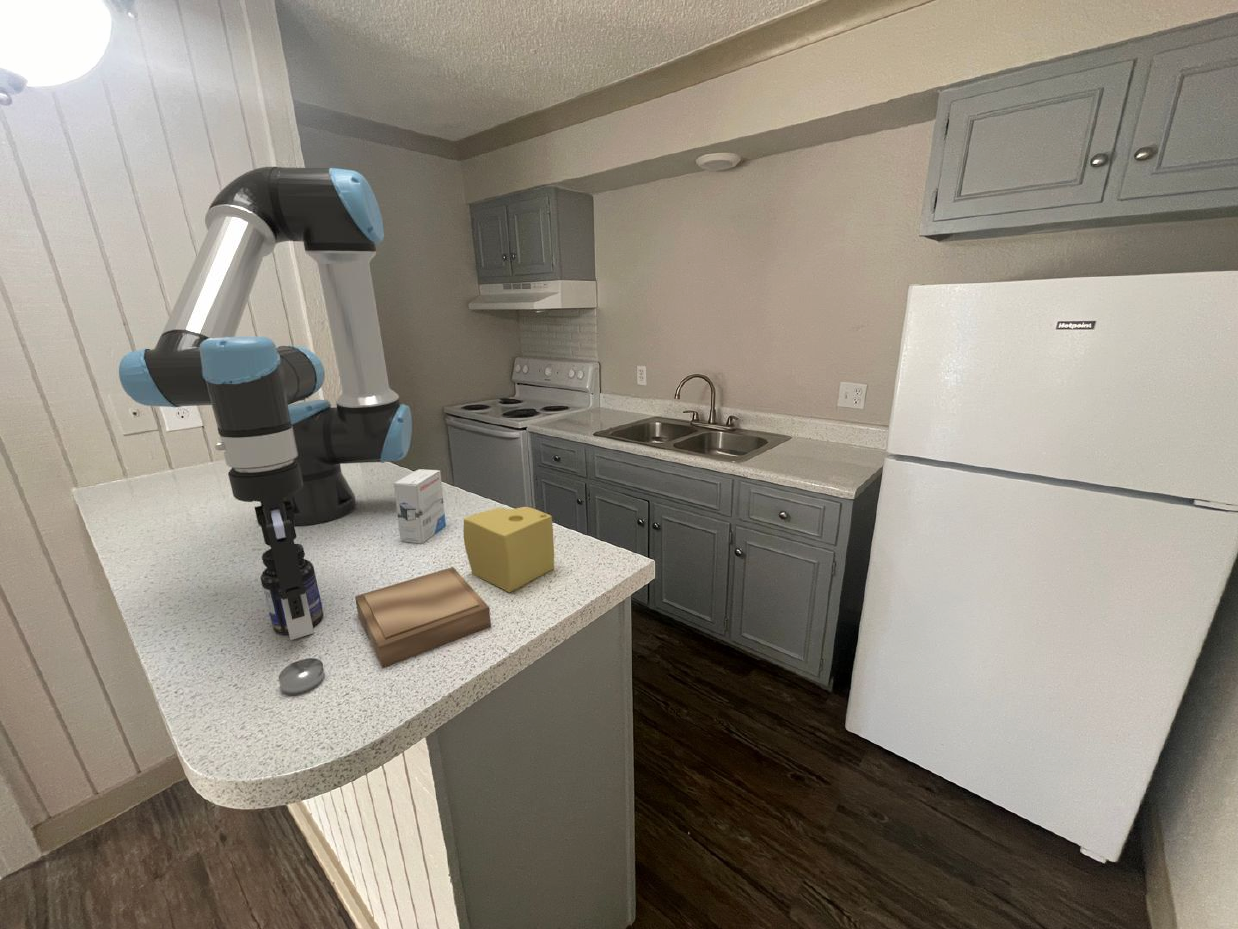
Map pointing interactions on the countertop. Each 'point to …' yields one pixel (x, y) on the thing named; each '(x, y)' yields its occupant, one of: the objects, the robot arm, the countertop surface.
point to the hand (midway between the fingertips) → (298, 620)
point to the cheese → (509, 545)
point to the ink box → (420, 505)
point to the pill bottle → (273, 588)
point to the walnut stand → (421, 614)
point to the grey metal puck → (301, 676)
